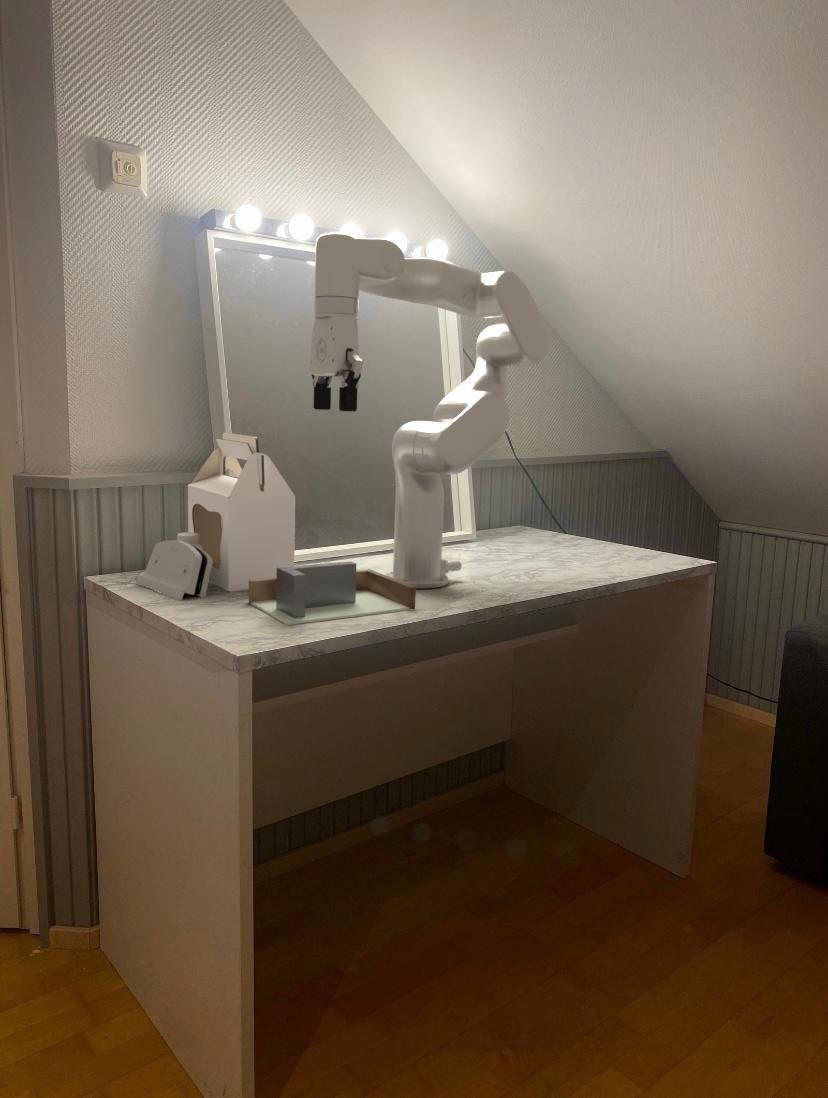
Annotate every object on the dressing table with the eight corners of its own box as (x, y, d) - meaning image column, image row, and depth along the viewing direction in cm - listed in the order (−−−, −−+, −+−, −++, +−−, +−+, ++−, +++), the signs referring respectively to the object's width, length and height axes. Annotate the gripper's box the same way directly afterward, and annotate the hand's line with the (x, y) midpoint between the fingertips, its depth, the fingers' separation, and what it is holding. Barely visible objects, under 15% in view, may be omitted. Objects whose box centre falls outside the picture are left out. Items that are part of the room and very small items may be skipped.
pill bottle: (190, 575, 165) (189, 530, 164) (208, 579, 162) (208, 534, 161) (168, 579, 161) (168, 533, 159) (187, 583, 158) (186, 537, 157)
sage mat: (366, 592, 156) (366, 589, 156) (409, 610, 144) (409, 607, 144) (251, 604, 144) (251, 602, 144) (287, 625, 132) (287, 622, 132)
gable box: (187, 570, 170) (186, 431, 165) (248, 564, 178) (249, 431, 173) (229, 592, 152) (228, 437, 147) (295, 586, 159) (296, 438, 155)
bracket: (276, 608, 140) (276, 567, 139) (350, 600, 148) (350, 561, 147) (293, 618, 135) (294, 575, 133) (369, 609, 142) (370, 568, 141)
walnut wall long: (368, 590, 158) (369, 569, 157) (372, 591, 157) (372, 570, 156) (248, 602, 145) (248, 580, 144) (251, 604, 144) (251, 581, 143)
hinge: (134, 583, 156) (150, 532, 157) (156, 588, 160) (172, 538, 161) (180, 600, 145) (197, 545, 146) (203, 606, 148) (219, 551, 149)
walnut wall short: (372, 591, 157) (372, 570, 156) (415, 609, 145) (415, 586, 144) (366, 592, 156) (367, 571, 156) (409, 610, 144) (410, 587, 144)
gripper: (295, 311, 150) (294, 408, 153) (340, 304, 136) (338, 411, 139) (332, 315, 154) (330, 409, 157) (380, 308, 140) (377, 412, 143)
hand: (334, 410), depth 148 cm, fingers open, 9 cm apart
